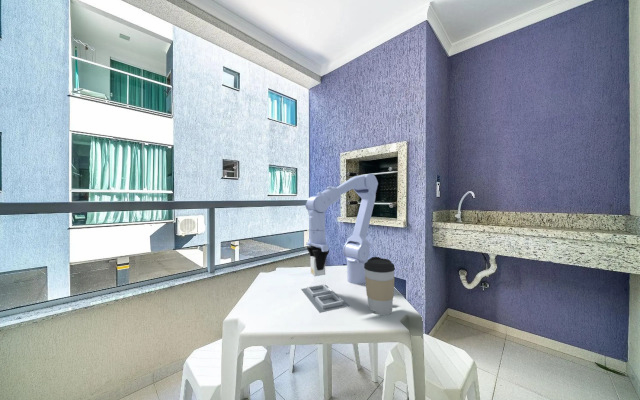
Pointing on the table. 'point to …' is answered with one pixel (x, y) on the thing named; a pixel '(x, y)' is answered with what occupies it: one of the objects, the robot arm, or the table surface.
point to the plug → (314, 268)
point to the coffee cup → (379, 285)
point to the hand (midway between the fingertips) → (317, 267)
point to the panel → (324, 298)
